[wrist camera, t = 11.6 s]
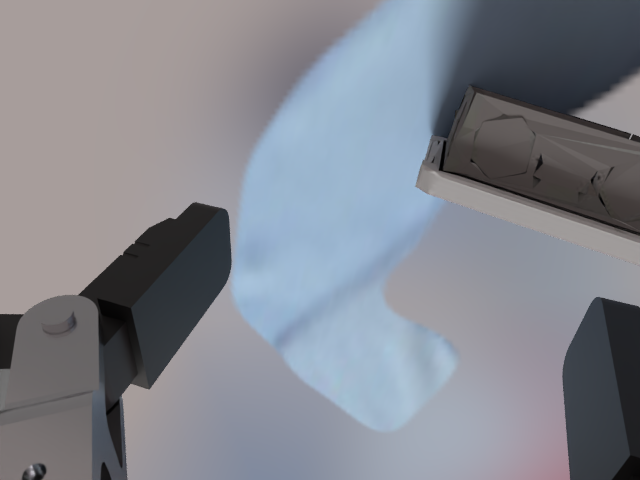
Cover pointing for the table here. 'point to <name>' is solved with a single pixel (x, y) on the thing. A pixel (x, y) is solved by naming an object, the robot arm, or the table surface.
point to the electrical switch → (540, 172)
